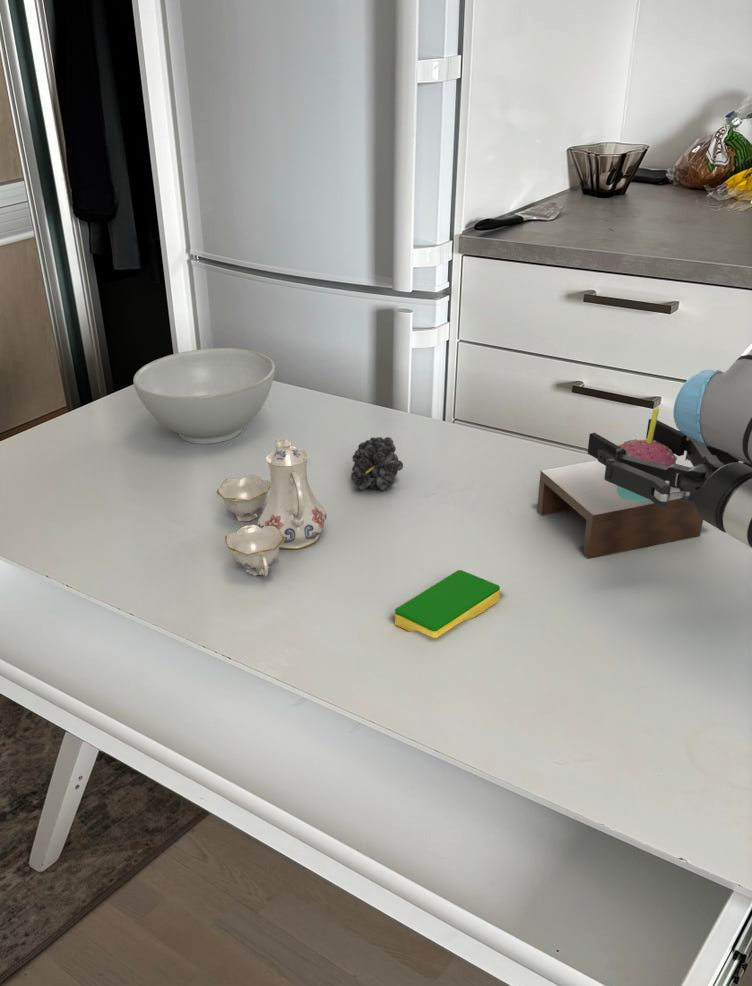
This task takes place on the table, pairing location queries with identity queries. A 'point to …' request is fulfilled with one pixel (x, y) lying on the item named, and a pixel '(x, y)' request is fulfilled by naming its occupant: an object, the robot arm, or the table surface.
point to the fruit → (375, 464)
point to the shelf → (613, 511)
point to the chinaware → (273, 510)
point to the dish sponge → (447, 604)
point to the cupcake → (646, 455)
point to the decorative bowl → (206, 391)
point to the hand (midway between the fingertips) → (620, 435)
